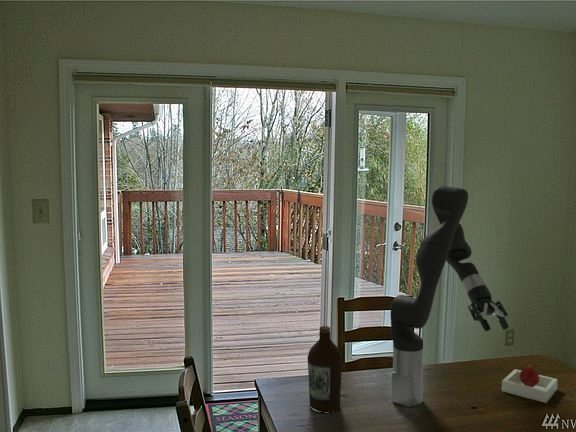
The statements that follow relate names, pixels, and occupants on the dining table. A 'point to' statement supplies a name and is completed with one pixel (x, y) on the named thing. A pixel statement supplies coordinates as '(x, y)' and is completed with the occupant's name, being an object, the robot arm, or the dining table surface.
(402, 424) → the dining table surface
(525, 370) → the onion
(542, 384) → the bin
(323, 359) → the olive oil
